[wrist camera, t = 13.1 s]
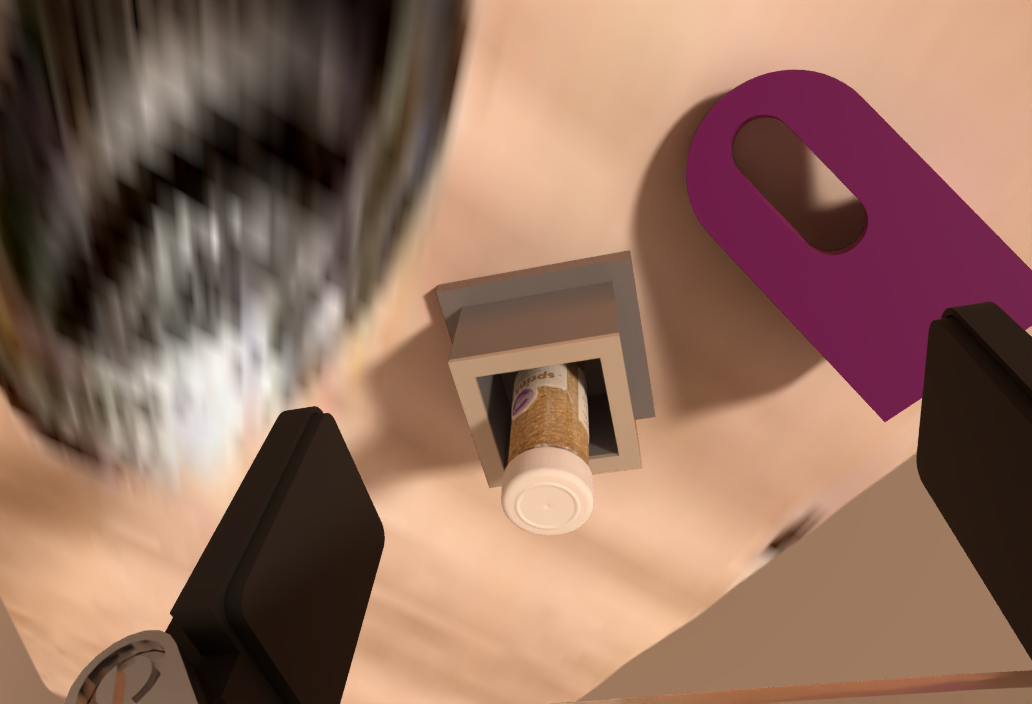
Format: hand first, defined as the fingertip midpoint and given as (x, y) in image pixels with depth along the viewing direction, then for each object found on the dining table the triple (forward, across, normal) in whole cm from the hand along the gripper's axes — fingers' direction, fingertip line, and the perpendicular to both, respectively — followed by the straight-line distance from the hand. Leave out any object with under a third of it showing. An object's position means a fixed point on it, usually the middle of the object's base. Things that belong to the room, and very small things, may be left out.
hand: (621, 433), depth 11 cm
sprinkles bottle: (+30, +5, +17) cm, 34 cm away
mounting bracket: (+31, -12, +10) cm, 35 cm away
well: (+30, +5, +17) cm, 35 cm away
